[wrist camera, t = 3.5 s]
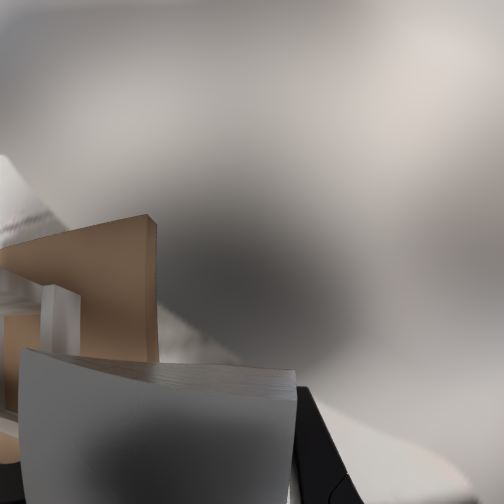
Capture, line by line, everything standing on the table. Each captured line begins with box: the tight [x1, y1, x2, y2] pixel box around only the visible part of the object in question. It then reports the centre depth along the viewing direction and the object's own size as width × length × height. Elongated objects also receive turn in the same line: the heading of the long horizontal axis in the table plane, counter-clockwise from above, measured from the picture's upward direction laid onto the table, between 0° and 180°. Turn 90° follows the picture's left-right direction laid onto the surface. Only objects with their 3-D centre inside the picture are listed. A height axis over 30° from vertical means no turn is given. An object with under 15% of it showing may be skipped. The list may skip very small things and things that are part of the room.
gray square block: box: [18, 347, 297, 504], centre depth 9 cm, size 4×4×13 cm
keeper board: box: [0, 214, 159, 464], centre depth 12 cm, size 24×16×8 cm, turn 6°
